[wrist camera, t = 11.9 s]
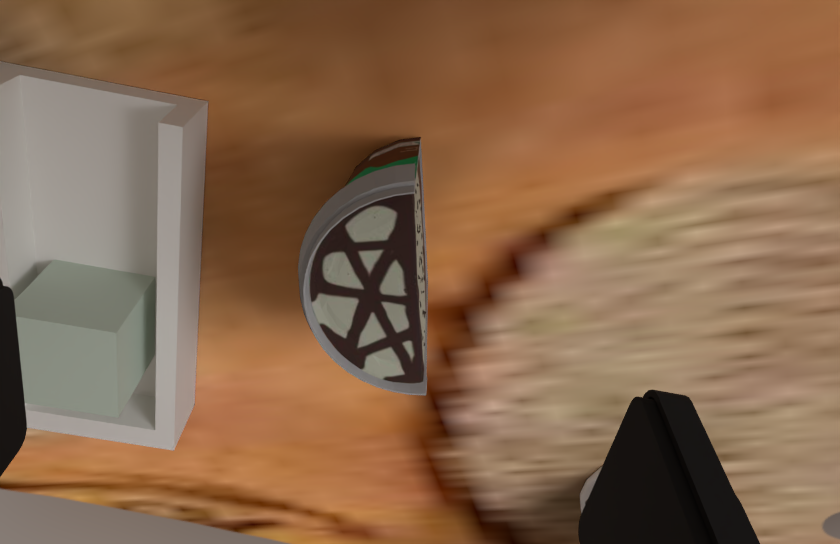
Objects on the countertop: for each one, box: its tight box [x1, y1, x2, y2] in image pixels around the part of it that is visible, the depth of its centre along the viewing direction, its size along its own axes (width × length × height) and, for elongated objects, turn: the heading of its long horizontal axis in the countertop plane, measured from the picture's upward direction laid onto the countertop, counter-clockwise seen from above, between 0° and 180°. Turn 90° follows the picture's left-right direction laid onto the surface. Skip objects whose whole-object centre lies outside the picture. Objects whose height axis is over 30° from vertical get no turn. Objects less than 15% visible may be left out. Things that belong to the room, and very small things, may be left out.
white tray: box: [0, 61, 208, 450], centre depth 42 cm, size 22×20×4 cm
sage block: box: [14, 259, 155, 418], centre depth 42 cm, size 6×6×6 cm
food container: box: [298, 137, 428, 395], centre depth 38 cm, size 12×6×10 cm, turn 3°
